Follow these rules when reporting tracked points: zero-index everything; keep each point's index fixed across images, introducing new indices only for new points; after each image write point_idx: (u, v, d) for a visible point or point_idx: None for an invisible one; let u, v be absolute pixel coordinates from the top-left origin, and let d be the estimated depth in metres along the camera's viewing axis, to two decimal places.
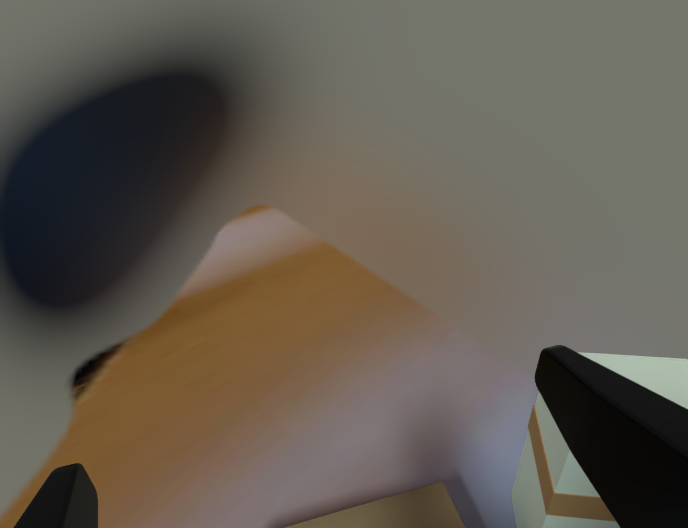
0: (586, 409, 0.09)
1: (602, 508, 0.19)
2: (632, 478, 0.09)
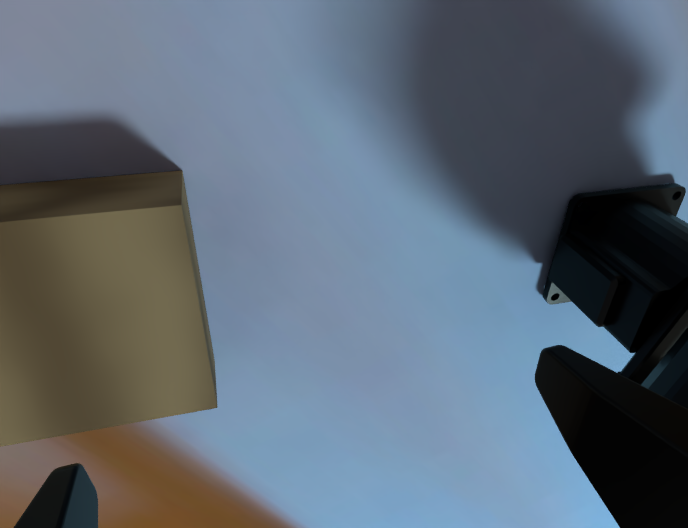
0: (586, 409, 0.09)
1: None
2: (632, 478, 0.09)
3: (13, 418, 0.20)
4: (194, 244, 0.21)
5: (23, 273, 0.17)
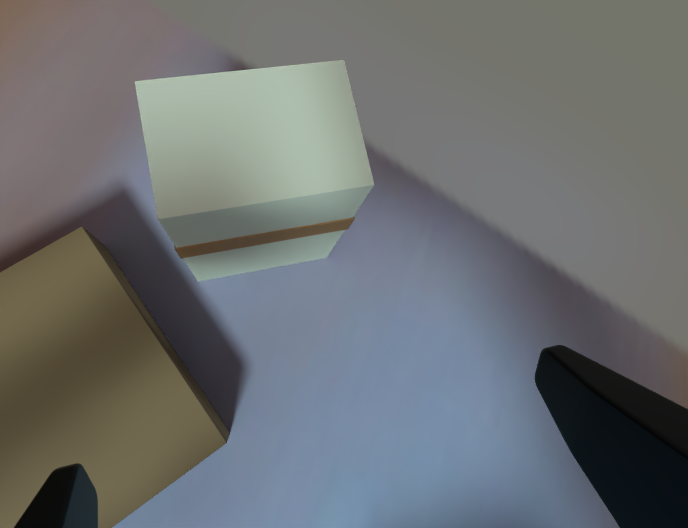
0: (586, 409, 0.09)
1: (233, 244, 0.18)
2: (632, 478, 0.09)
3: None
4: None
5: (99, 354, 0.19)
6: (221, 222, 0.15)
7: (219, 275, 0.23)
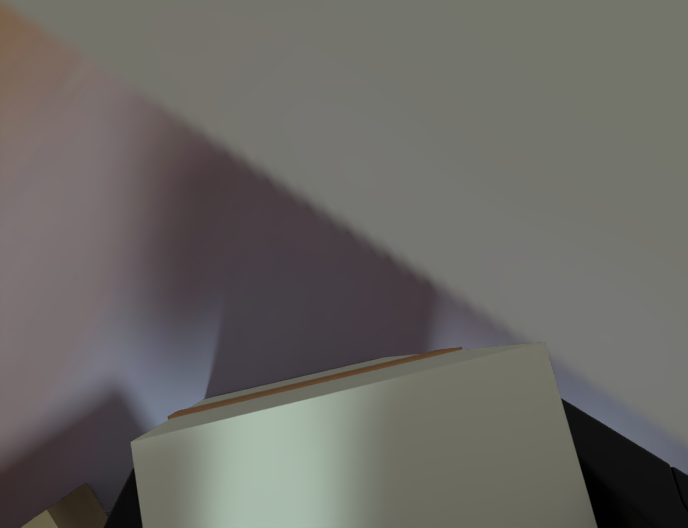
0: None
1: None
2: None
3: None
4: None
5: None
6: None
7: None
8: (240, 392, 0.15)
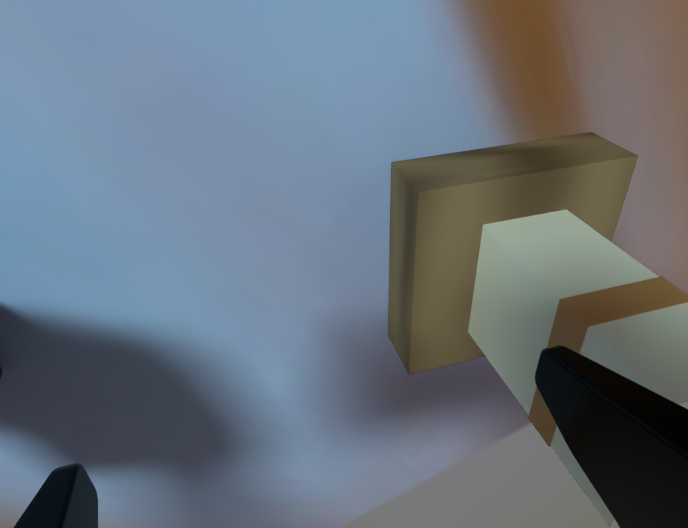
0: (586, 409, 0.09)
1: None
2: (632, 478, 0.09)
3: (583, 194, 0.22)
4: (390, 290, 0.26)
5: None
6: None
7: (486, 250, 0.22)
8: None
